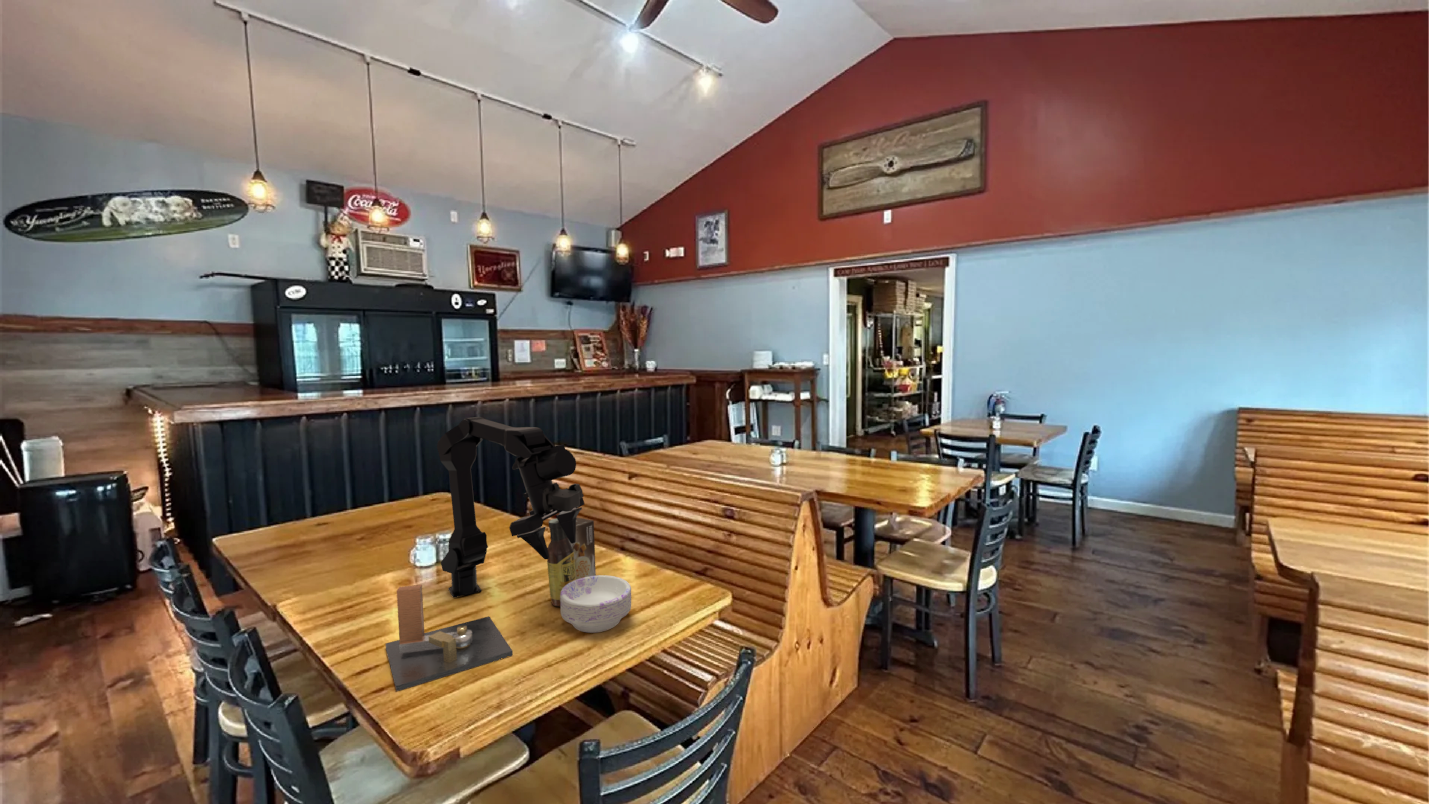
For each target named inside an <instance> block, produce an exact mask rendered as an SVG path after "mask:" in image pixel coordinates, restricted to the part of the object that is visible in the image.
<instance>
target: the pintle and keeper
mask: <svg viewBox="0 0 1429 804" xmlns="http://www.w3.org/2000/svg"><path fill="white" fill-rule="evenodd" d="M466 632H467V626H465V625H462V626H459V627H457V634H459V635H462V634H465V633H466ZM428 637H429V643H431V644H434V645H436V646H439V647H441V648H442V647H443V654H444V661H446V662H449V663H450V662H452V661H454V660H455V659H457V653H456V649H463V648H466V647H468V646H469V645H470V644H469V645H467V646H463V647H456V639H455V638H453V636H452V635H449V634H446V633H444V632H441V631H439V632H437V633H435V634H433V635H430V636H428Z"/></svg>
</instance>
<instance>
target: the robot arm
mask: <svg viewBox="0 0 1429 804" xmlns="http://www.w3.org/2000/svg"><path fill="white" fill-rule="evenodd" d="M483 440H485V441H489V442H492V443H496V444H499V445H500V446H503V447H504V450H505V451H506V452H507V453H509V454H511V455H513V456H515V457H516V458H515V460H514V461H515V462H514V463H513V464H512V467H511V468H512V470H514V471H515V470H518V469H519V473H520V477H521V478H522V481H523V485H524V487H525V491H526V492H525V493H522V496H523V497H524V498H523V499H527V498H528V499H529V503H530V505H531V508H532V510H530V511H528V513H529V515H526V516H523V517H520V518H519V519H518V518H517V519H516V520H514V521H512V522H510V525H509V531H510V535H511V537H514V536H516V538H517V539H519V538H520V539H522V540H523V541H524V542H526V543H527V544H528V545H529V546H530V547H532V549H533V550H535V551H536V552H537V554H539V556H541V558H543V559H544V560H547V559H549V553H548V549H547V548H548V545H547V543H546V539H545V536H544V534H545V530H546V528H547V527H546V526H543V525H544V521H546V520H548V519H550V518H552V517H555V519H558V521H559V523H560V525H561V527H562V529H563V530H564V532H565V534H566V536H567V538H568V539H569V541H570V542H571V543H575V542H576V518H578V516H579V513H580V512H581V511H582V510H583V506H584V505H586V504H585V501H584V493H583V489H582V487H581V484H579V483H573V484H570V485H568V488H564V489H563V488H560V485H559V484H558V483H557V482H553V481H554V480H557V479H561V478H565V477H568V476H571V475H573V474H574V473H575V471H576V469H577V459H576V457H575V456H574V455H573V453H572V452H571V451H570V450H568V449H566V446H565V444H558V445H555V444H554V443H553V442H552V441H551V440H550V439H549V438H548V437H547V435H546V434H545V433H544V430H543V429H541V428H540V427H531V426H530V427H529V426H525V427H522V426H520V427H514V426H509V425H507V424H503V423H500V422H497V421H493V420H490V419H486V418H485V417H481V416H475V417H465V418H464V419H462V420H461V421H460V422H459V423H458V425H456V426H455V427H453V428H451V429H450V430H448V431H446V432H445V433H444V434H443V435H442V436H441V437H440V439H439V440H438V441H437V444H436V449H437V452H438V456H439V461H440V462H441V464H442V465H443V466H444V468H445V469H446V470H447V471H448V476H449V489H450V490H449V491H450V496H451V497H450V499H451V505H452V506H451V507H452V518H453V526H454V527H453V528H454V529H453V532H452V533H451V535H450V538H449V540H448V552H447V553H446V555H445V556H444V557H443V559H442V560H441V562H440V565H441V568H442V571H443V572H446V573H450V574H451V575H450V576H451V586H448V588H447V589H448V591H449V593H450V595H451V597H452V598H454V599H456V598H460V597H463V596H468V595H472V594H477V593H481V592H482V589H481V587H480V586H479V584H478V581H477V580H478V578H477V576H478V575H477V566H478V565H483V564H484V563H485V561H486V560H485V559H486V555H487V553H488V548H489V545H488V540H487V539H488V538H487V534H486V533H487V532H486V531H482V530H481V529H479V527H478V526H477V518H476V509H475V499H474V490H473V488H474V487H473V480H472V470H471V469H472V466H473V464H474V462H475V461H476V458H477V447H478V446H479V445H480V444H481V443H482V441H483Z"/></svg>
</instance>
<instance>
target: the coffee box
mask: <svg viewBox="0 0 1429 804" xmlns="http://www.w3.org/2000/svg"><path fill="white" fill-rule="evenodd" d="M568 540H569V539H568ZM569 542H570V541H569ZM570 544H571V546H572V549H573V551H574V560H575V571H576V580H577V579H580V578H584V577H589V576H597V572H596V569H597V568H596V550H595V549H596V547H595V520H593V519H586V518H580V517H576V542H575V543H571V542H570Z"/></svg>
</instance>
